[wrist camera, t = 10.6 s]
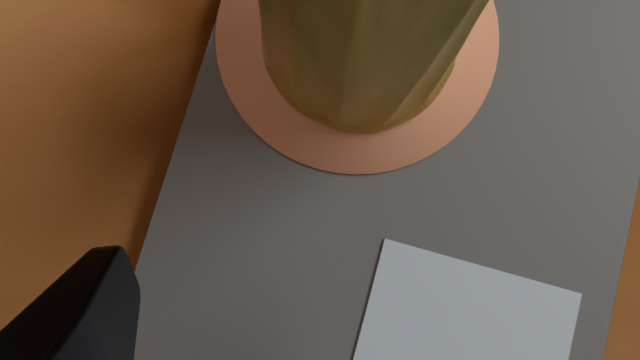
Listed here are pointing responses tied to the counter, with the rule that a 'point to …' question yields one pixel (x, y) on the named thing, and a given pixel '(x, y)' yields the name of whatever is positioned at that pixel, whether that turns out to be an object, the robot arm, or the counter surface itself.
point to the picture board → (404, 204)
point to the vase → (363, 56)
